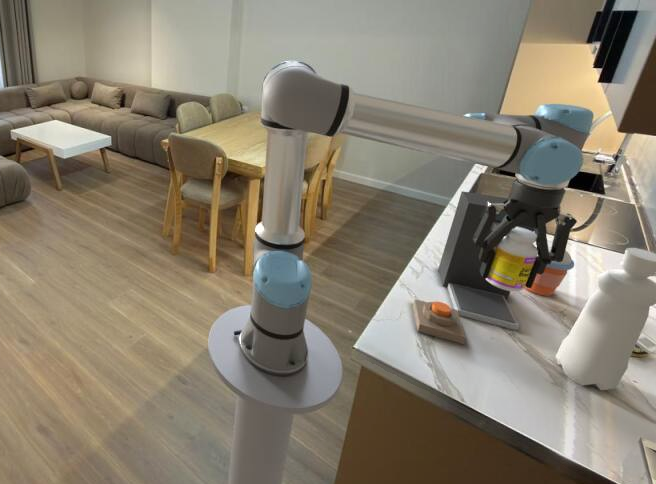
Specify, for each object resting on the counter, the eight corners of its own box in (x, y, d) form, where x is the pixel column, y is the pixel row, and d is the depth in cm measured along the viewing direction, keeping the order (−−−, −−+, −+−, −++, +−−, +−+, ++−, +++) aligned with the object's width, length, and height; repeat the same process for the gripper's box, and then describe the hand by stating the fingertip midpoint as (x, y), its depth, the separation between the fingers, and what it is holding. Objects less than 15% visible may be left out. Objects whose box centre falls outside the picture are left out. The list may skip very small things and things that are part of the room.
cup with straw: (530, 276, 114) (552, 221, 107) (568, 296, 105) (595, 238, 99) (506, 281, 112) (527, 226, 105) (544, 302, 103) (570, 244, 97)
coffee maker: (451, 313, 100) (481, 224, 91) (437, 270, 117) (461, 191, 108) (522, 331, 94) (562, 238, 85) (497, 283, 111) (528, 201, 102)
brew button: (432, 314, 95) (434, 308, 94) (430, 305, 98) (431, 299, 97) (450, 319, 93) (452, 313, 93) (447, 309, 96) (449, 304, 96)
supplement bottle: (515, 296, 82) (535, 244, 77) (477, 279, 87) (494, 229, 83) (529, 286, 85) (549, 234, 80) (492, 270, 90) (509, 221, 86)
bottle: (544, 352, 88) (597, 237, 78) (600, 366, 85) (662, 247, 74) (564, 384, 81) (625, 262, 70) (626, 401, 77) (700, 274, 67)
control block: (417, 331, 94) (421, 318, 93) (412, 305, 103) (416, 293, 101) (463, 344, 91) (468, 331, 89) (454, 316, 99) (458, 303, 98)
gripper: (481, 181, 79) (452, 276, 87) (620, 200, 70) (573, 303, 78) (473, 168, 85) (446, 258, 93) (599, 184, 76) (558, 282, 84)
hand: (504, 279), depth 86 cm, fingers closed on supplement bottle, 7 cm apart
